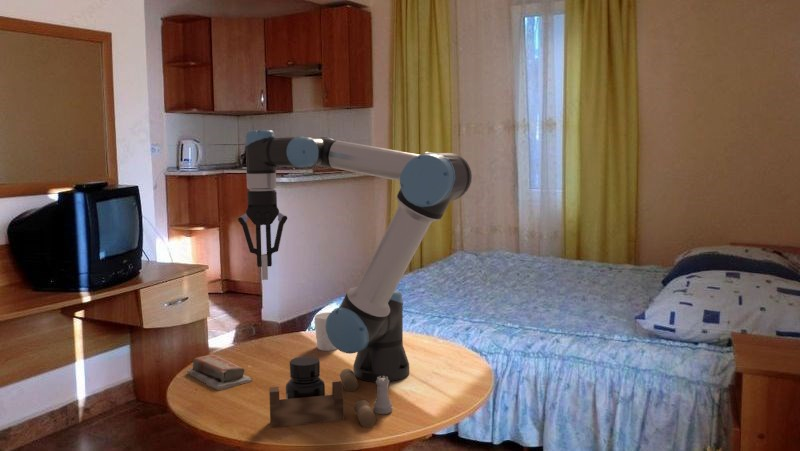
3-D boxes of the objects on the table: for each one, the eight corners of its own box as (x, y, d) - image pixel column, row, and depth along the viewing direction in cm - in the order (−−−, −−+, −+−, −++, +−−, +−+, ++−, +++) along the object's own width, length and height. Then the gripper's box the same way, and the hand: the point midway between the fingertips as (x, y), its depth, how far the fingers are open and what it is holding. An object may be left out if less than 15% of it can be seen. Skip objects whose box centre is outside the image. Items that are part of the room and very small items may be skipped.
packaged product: (185, 358, 183) (218, 350, 190) (186, 375, 184) (219, 367, 191) (218, 373, 170) (252, 365, 177) (218, 392, 171) (253, 382, 178)
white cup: (339, 351, 203) (339, 318, 202) (313, 351, 203) (312, 318, 202) (342, 343, 211) (341, 312, 209) (317, 343, 211) (316, 312, 210)
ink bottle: (306, 400, 164) (304, 352, 162) (334, 408, 159) (333, 358, 157) (277, 413, 156) (275, 363, 154) (305, 422, 151) (304, 370, 149)
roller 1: (340, 382, 176) (339, 369, 176) (354, 381, 177) (353, 367, 177) (344, 392, 170) (343, 378, 169) (358, 390, 170) (357, 376, 170)
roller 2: (354, 415, 155) (354, 400, 154) (369, 414, 155) (369, 399, 155) (359, 428, 148) (359, 412, 147) (375, 426, 149) (375, 410, 148)
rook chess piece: (377, 416, 154) (377, 382, 153) (370, 409, 158) (369, 376, 157) (395, 413, 156) (395, 379, 155) (388, 406, 160) (387, 373, 159)
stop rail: (341, 415, 155) (341, 381, 154) (343, 420, 152) (343, 385, 151) (270, 422, 151) (269, 387, 150) (270, 427, 148) (269, 392, 147)
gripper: (286, 188, 182) (289, 275, 185) (236, 189, 179) (239, 277, 182) (287, 189, 175) (290, 280, 177) (235, 191, 172) (239, 282, 175)
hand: (264, 278), depth 180 cm, fingers closed
